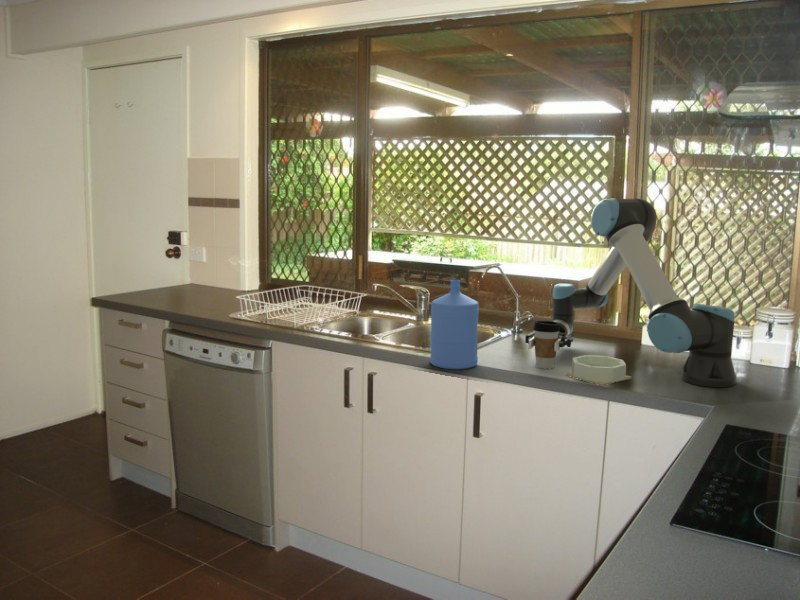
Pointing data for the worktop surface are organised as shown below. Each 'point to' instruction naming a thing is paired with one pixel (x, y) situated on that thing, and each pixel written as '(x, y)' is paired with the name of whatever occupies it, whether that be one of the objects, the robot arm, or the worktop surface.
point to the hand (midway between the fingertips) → (542, 345)
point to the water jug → (454, 330)
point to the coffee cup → (545, 343)
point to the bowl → (598, 369)
